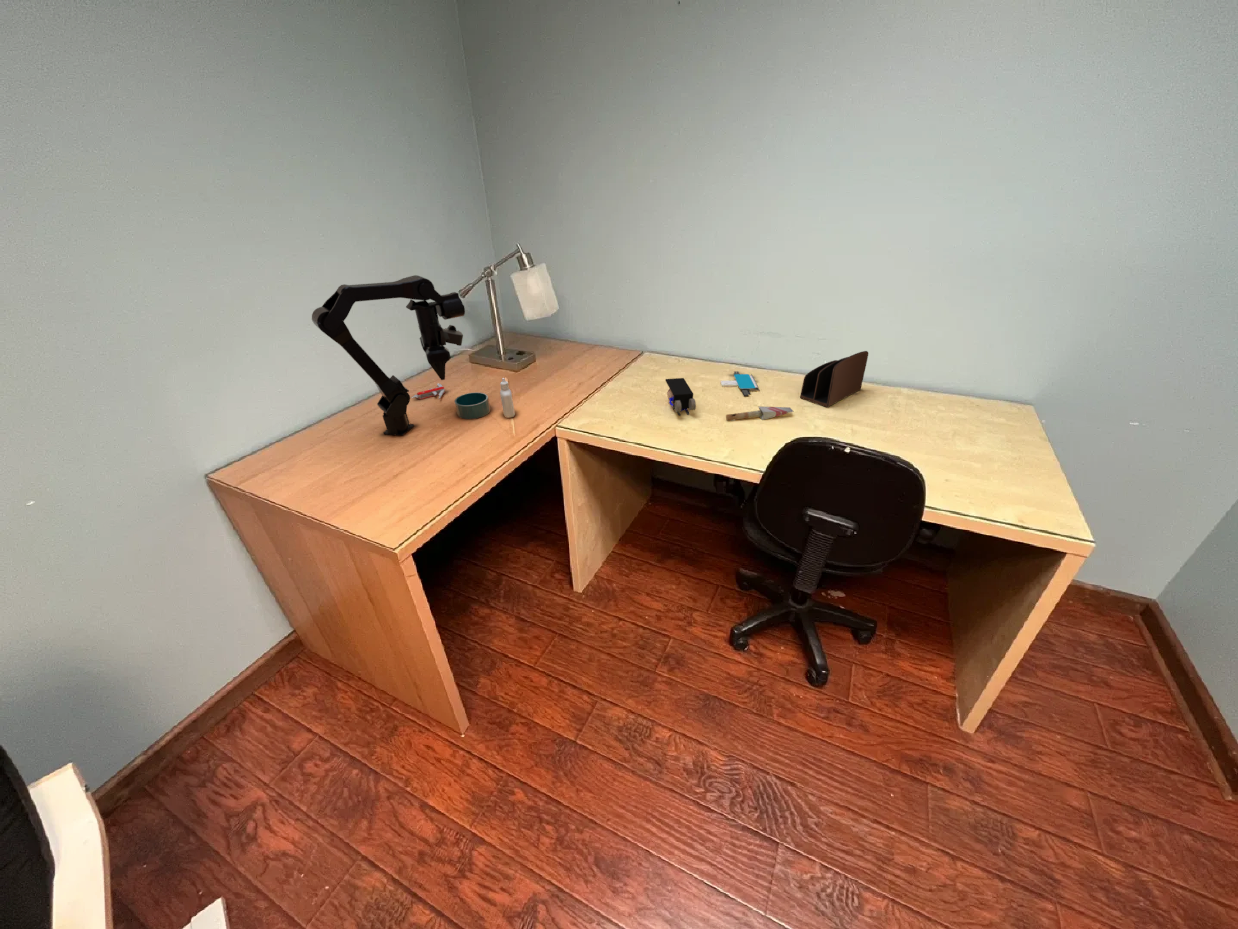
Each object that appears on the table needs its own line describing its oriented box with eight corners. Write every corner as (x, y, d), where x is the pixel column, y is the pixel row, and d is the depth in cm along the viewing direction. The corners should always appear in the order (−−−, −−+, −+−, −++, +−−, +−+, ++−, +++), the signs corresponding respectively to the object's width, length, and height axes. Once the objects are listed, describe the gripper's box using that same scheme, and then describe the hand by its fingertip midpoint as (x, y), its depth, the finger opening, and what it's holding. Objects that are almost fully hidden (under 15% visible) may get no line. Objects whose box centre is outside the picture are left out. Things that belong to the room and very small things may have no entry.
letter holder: (860, 389, 161) (871, 348, 153) (827, 408, 150) (837, 364, 143) (832, 381, 167) (841, 340, 160) (799, 398, 157) (806, 355, 150)
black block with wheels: (696, 420, 149) (682, 395, 161) (698, 399, 144) (684, 375, 156) (675, 423, 148) (662, 397, 160) (676, 401, 144) (663, 377, 155)
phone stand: (717, 373, 176) (717, 369, 176) (750, 372, 176) (751, 368, 175) (725, 397, 160) (726, 392, 159) (762, 396, 159) (763, 391, 158)
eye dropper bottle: (519, 410, 156) (513, 375, 149) (512, 418, 151) (506, 382, 145) (506, 410, 157) (499, 374, 150) (499, 418, 152) (492, 381, 146)
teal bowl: (481, 420, 151) (479, 407, 149) (451, 418, 153) (448, 404, 151) (495, 405, 159) (493, 393, 157) (466, 404, 161) (464, 391, 159)
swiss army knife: (417, 408, 160) (415, 402, 159) (407, 393, 170) (405, 388, 169) (451, 398, 165) (450, 393, 164) (440, 385, 175) (438, 380, 174)
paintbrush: (795, 407, 144) (728, 416, 143) (794, 416, 146) (728, 424, 145) (789, 402, 148) (724, 410, 146) (788, 410, 149) (724, 418, 148)
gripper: (463, 327, 136) (473, 380, 144) (452, 311, 150) (462, 360, 158) (421, 333, 132) (434, 387, 140) (414, 316, 146) (426, 366, 155)
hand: (440, 374), depth 148 cm, fingers open, 9 cm apart
